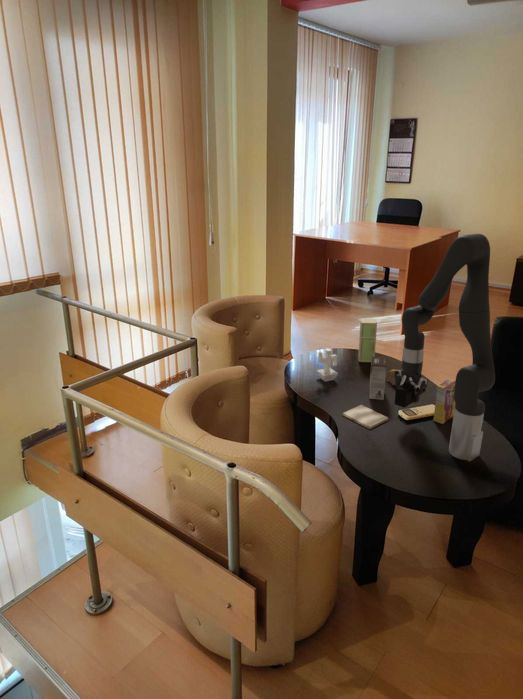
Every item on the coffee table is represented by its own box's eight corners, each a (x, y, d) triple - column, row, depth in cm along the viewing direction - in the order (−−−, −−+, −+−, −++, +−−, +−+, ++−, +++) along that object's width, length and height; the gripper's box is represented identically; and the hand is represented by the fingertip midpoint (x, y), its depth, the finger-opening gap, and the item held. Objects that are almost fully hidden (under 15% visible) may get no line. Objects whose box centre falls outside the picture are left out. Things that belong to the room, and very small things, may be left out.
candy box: (443, 412, 203) (448, 378, 197) (453, 416, 200) (458, 381, 194) (432, 420, 197) (436, 385, 191) (442, 424, 194) (447, 389, 188)
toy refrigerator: (358, 362, 250) (360, 322, 242) (357, 356, 257) (360, 317, 249) (374, 363, 249) (377, 323, 241) (373, 357, 256) (376, 318, 248)
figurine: (339, 380, 232) (341, 350, 226) (321, 383, 228) (323, 353, 223) (331, 374, 238) (333, 344, 232) (314, 377, 234) (315, 348, 229)
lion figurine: (415, 382, 229) (417, 364, 225) (416, 387, 224) (418, 369, 220) (382, 380, 231) (384, 362, 228) (382, 385, 226) (384, 367, 223)
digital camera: (407, 409, 187) (408, 392, 185) (394, 404, 191) (395, 387, 189) (421, 400, 194) (422, 383, 192) (408, 395, 198) (410, 379, 195)
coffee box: (369, 389, 223) (371, 356, 217) (383, 390, 221) (386, 357, 215) (368, 399, 214) (371, 364, 208) (384, 400, 213) (387, 365, 207)
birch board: (388, 419, 198) (388, 417, 197) (369, 429, 191) (370, 427, 191) (360, 406, 208) (361, 404, 207) (342, 415, 201) (342, 413, 201)
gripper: (435, 361, 183) (430, 403, 189) (402, 351, 194) (399, 390, 200) (423, 366, 179) (419, 409, 185) (390, 355, 190) (387, 396, 196)
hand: (408, 399), depth 192 cm, fingers closed on digital camera, 5 cm apart
